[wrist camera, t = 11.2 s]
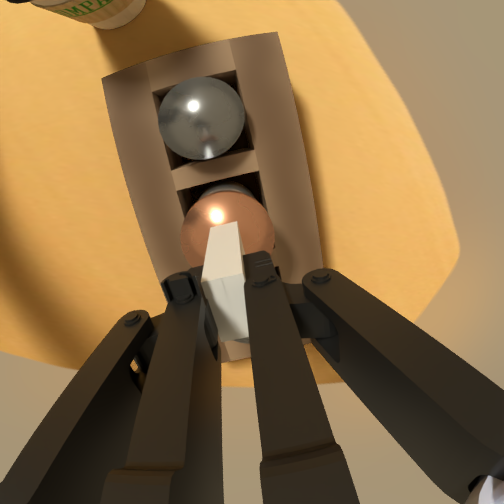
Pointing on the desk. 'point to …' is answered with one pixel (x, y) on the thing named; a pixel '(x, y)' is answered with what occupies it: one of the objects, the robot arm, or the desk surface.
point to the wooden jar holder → (222, 166)
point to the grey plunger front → (201, 118)
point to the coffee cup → (93, 10)
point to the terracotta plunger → (226, 221)
